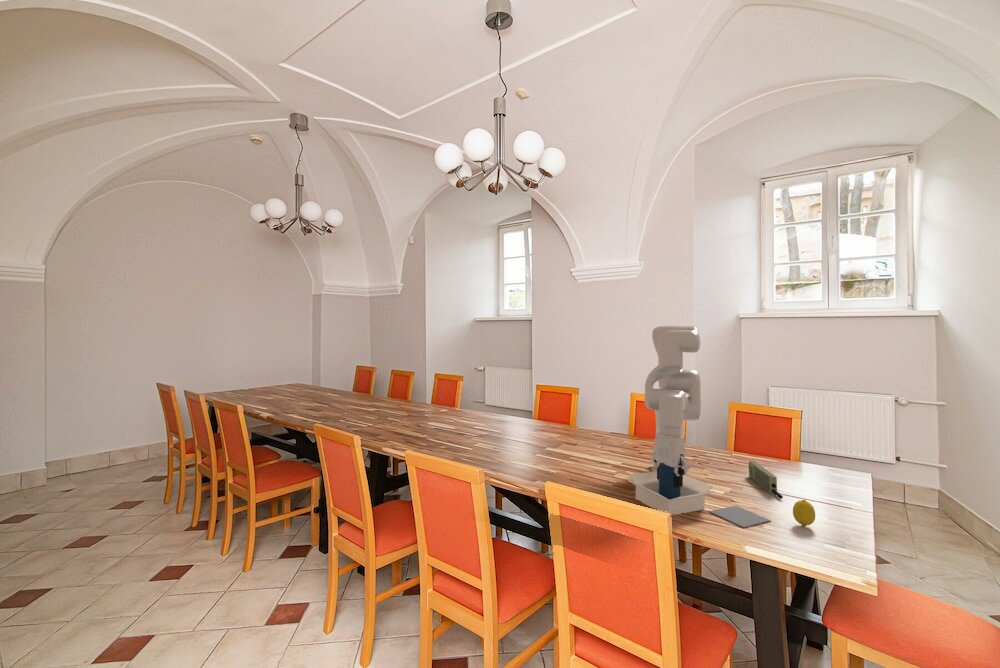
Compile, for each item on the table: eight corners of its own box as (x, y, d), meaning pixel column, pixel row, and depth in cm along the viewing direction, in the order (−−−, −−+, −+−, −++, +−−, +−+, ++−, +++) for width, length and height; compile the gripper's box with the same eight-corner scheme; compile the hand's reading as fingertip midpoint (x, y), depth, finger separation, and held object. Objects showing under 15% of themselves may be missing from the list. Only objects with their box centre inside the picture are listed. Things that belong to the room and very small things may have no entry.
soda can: (684, 500, 144) (685, 464, 143) (665, 501, 142) (665, 465, 142) (673, 492, 150) (673, 457, 150) (654, 493, 149) (655, 458, 149)
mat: (709, 512, 139) (709, 511, 139) (735, 506, 144) (735, 505, 144) (743, 528, 128) (743, 526, 128) (770, 521, 133) (770, 520, 133)
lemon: (788, 522, 133) (788, 496, 132) (805, 522, 133) (805, 496, 133) (802, 531, 127) (802, 503, 127) (819, 530, 128) (820, 503, 127)
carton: (620, 496, 152) (620, 476, 152) (669, 488, 160) (669, 468, 160) (668, 523, 131) (669, 499, 131) (721, 511, 140) (722, 489, 140)
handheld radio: (757, 477, 175) (786, 501, 150) (748, 476, 175) (776, 500, 151) (756, 460, 175) (785, 481, 150) (747, 460, 175) (775, 481, 151)
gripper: (643, 425, 152) (642, 476, 153) (682, 438, 136) (681, 494, 137) (659, 423, 155) (659, 473, 156) (699, 435, 139) (698, 490, 140)
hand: (669, 482), depth 146 cm, fingers closed on soda can, 7 cm apart
